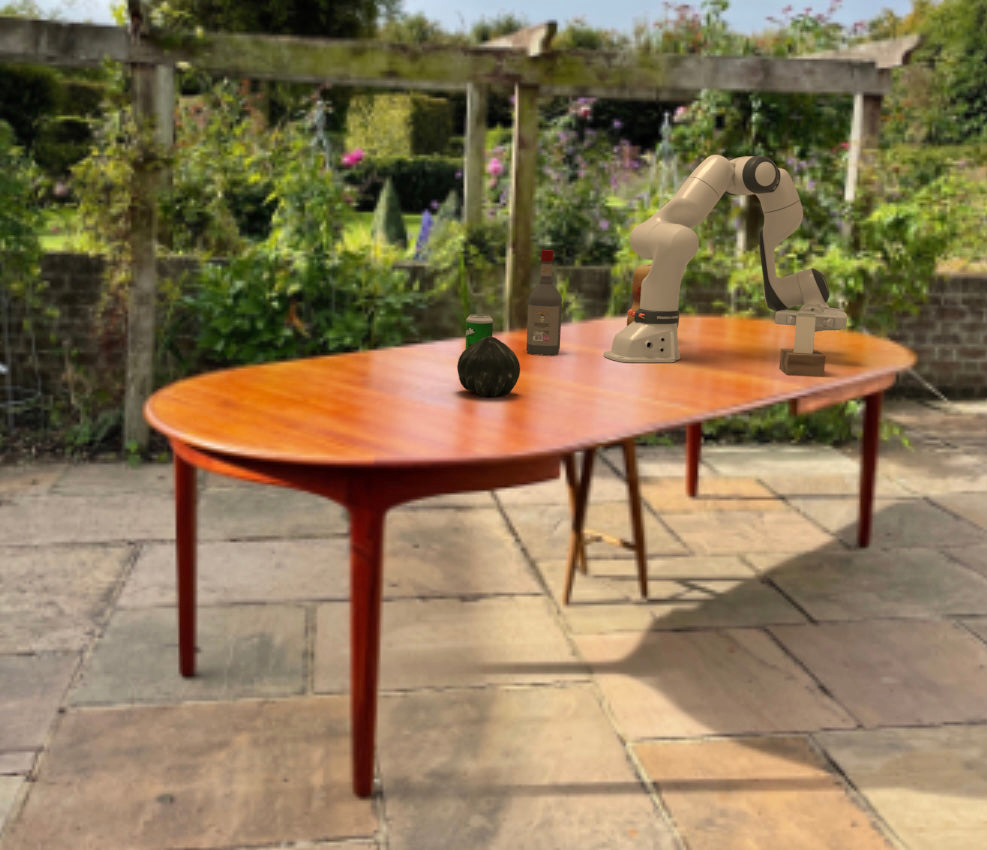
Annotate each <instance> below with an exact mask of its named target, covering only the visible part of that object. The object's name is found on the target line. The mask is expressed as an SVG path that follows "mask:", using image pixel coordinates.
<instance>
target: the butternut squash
mask: <svg viewBox="0 0 987 850" xmlns="http://www.w3.org/2000/svg"><path fill="white" fill-rule="evenodd" d="M651 266H652V262H651V263H644V264H640V265H639V266H637V267H636V268H635V270H634V271H633V276H632V286H631V291H632V292H631V293H632V305H631V308H630V309H632V310H635V311H637V310H638V309H639V308H640V299H641V284H642V281H643V279H644V278H645V277H646V276H647V275H648V273H649V271H650V269H651ZM634 317H635V316H634ZM634 317H631V316H628V315H627V318H626V327H627V326H628V325H629V324H631V323H632V322H633V321H634Z"/></svg>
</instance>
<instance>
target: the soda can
mask: <svg viewBox="0 0 987 850" xmlns="http://www.w3.org/2000/svg"><path fill="white" fill-rule="evenodd" d="M493 321H494V320H493V318H492V317H491V315H490V314H482V313H481V314H480V313H475V314H469V315H468V317H467V318H466V320H465V349H467V348H468V347H469V346H471V345H472V344H474V343H476V342H477V341H479V340H481V339H483V338H485V337H488V336H490V337H493V329H494V327H493V325H494V322H493Z"/></svg>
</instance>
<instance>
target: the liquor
mask: <svg viewBox="0 0 987 850" xmlns="http://www.w3.org/2000/svg"><path fill="white" fill-rule="evenodd" d="M554 254H555V251H554V250H553V249H541V251H540V261H541V266H540V267H541V268H540V280H539V284H537V286H536V287H535V288H534V289H533V291H532V292H531V293H530V295H529V297H528V302H527V303H528V304H527V324H526V326H527V327H526V330H527V331H526V348H525V349H526V352H527V354H529V353H531V354H530V355H533V354H543V355H542V356H548V355H550V356H555V355H554V354H556V355H558V353H559V352H560V349H561V333H562V332H561V330H562V328H561V327H562V312H563V311H562V310H563V309H562V308H563V297H562V294H561V293H560V291H559V290H558V289H557V287H556V286H555V285H554V284H553V262H554Z"/></svg>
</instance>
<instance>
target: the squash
mask: <svg viewBox="0 0 987 850" xmlns="http://www.w3.org/2000/svg"><path fill="white" fill-rule="evenodd" d="M520 365H521V364H520V361H519V358H518V356H517V354H515V352H514V351H513V350H512V349H511V348H510V347H509V346H508V345H507V344H506V343H504V342H503V341H501V340H500V339H498V338H496V337H494V336H492V337H490V336H488V337H485V338H483V339H481V340H479V341H477V342H476V343H474V344H472V345H471V346H469V347H468V348H467V349H466V348H465V349H464V350H463V352H461V354H460V355H459V358H458V361H457V367H456V368H457V373H458V380H459V382H460V384H461V385H462V387H463V388H464V389H465V390H466V391H471V392H472V393H477V394H478V395H479V396H481V397H486V396H489V397H491V398H495V397H498V396H506V395H509V394H510V393H511V392H512V391H513V390H514V388H515V386H516V385H517V383H518V381H519V378H520V374H521V366H520Z"/></svg>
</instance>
